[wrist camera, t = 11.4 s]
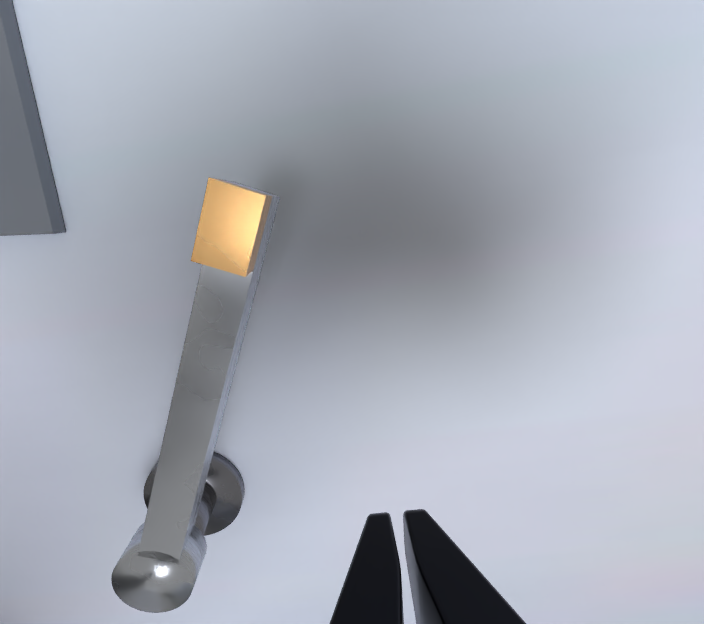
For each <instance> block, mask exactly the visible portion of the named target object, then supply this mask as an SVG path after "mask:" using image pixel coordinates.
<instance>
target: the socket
mask: <svg viewBox="0 0 704 624" xmlns="http://www.w3.org/2000/svg"><path fill="white" fill-rule="evenodd" d="M62 232H66V231H65V226H64V222H63V218H62V214H61V209H60V205H59V201H58V196H57V192H56V188H55V184H54V179H53V175H52V171H51V166H50V162H49V158H48V154H47V149H46V145H45V141H44V136H43V132H42V128H41V124H40V119H39V115H38V111H37V106H36V102H35V98H34V94H33V89H32V85H31V81H30V76H29V72H28V68H27V64H26V59H25V55H24V51H23V46H22V42H21V38H20V34H19V29H18V25H17V21H16V16H15V12H14V8H13V4H12V0H0V236H8V235H31V234H54V233H62Z"/></svg>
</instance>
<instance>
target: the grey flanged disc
mask: <svg viewBox="0 0 704 624" xmlns="http://www.w3.org/2000/svg"><path fill="white" fill-rule="evenodd" d="M157 465H158V463H157V464H156V466H155V467H154V469H153V470H152V472H151V473H150V475H149V476H148V478H147V480H146V483H145V486H144V500H145V504H146V506H147V509H148V506H149V501H150V497H151V492H152V488H153V483H154V479H155V474H156V470H157ZM243 498H244V484H243V480H242V477H241V475H240V473H239V472H238V470H237V469H236V468H235V466H234V465H233V464H232V463H231V462H230V461H228V460H227V459H226V458H224V457H223V456H221V455H219V454H217V453H214V452H213V456H212V460H211V463H210V467H209V471H208V475H207V479H206V483H205V486H204V490H203V494H202V498H201V502H200V506H199V509H198V513H197V517H196V521H195V526H196V527H197V528H198V529H199V530H200V531H201V532H202V534H203V535H210V534H213V533H216V532H219V531H221V530H222V529H224V528H226V527H227V526H228V525H230V524H231V523H232V522H233V521H234V519H235V518H236V517H237V515H238V513H239V511H240V508H241V505H242V501H243Z"/></svg>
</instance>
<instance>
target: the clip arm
mask: <svg viewBox="0 0 704 624" xmlns="http://www.w3.org/2000/svg"><path fill="white" fill-rule="evenodd" d="M279 199H280V197H279V196H276V195H273V194H270V193H267V192H264V191H261V190H258V189H255V188H252V187H249V186H246V185H242V184H239V183H236V182H232V181H226V180H220V179H215V178H208V183H207V188H206V192H205V197H204V202H203V206H202V211H201V216H200V220H199V225H198V230H197V234H196V239H195V244H194V248H193V253H192V258H191V261H193V262H196V263H199V264H202V267H201V271H200V276H199V280H198V285H197V289H196V294H195V298H194V303H193V307H192V312H191V316H190V321H189V325H188V330H187V334H186V339H185V343H184V348H183V352H182V357H181V361H180V366H179V370H178V375H177V379H176V384H175V388H174V393H173V397H172V402H171V407H170V411H169V416H168V420H167V425H166V429H165V434H164V438H163V443H162V447H161V452H160V456H159V461H158V465H157V470H156V474H155V479H154V483H153V488H152V492H151V497H150V501H149V506H148V510H147V515H146V519H145V523H143V524H142V525H141V526H140V527H139V528H138V530H137V531H136V533H135V534H134V536H133V538H132V539H131V541H130V543H129V544H128V546H127V548H126V549H125V551H124V553H123V555H122V556H121V558H120V560H119V561H118V563H117V565H116V566H115V568H114V570H113V573H112V586H113V589H114V591H115V593H116V594H117V596H118V597H119V598H120V599H121V600H122V601H123V602H124V603H126V604H127V605H129V606H131V607H133V608H135V609H138V610H140V611H145V612H152V613H159V612H166V611H170V610H173V609H175V608H177V607H179V606H181V605H182V604H183V603H184V602H186V601H187V599H188V598H189V596H190V595H191V592H192V589H193V587H194V584H195V581H196V578H197V576H198V573H199V570H200V567H201V565H202V562H203V559H204V557H205V554H206V549H207V545H206V540H205V537H204V535H203V534H202V532H201V531H200V530H199V529H198V528H197V527H196V526H195V521H196V517H197V513H198V509H199V506H200V502H201V498H202V494H203V490H204V486H205V483H206V479H207V475H208V471H209V467H210V463H211V460H212V456H213V452H214V448H215V444H216V440H217V437H218V433H219V429H220V425H221V421H222V417H223V414H224V410H225V406H226V402H227V398H228V395H229V391H230V387H231V383H232V379H233V375H234V372H235V368H236V364H237V360H238V356H239V352H240V349H241V345H242V341H243V337H244V333H245V329H246V326H247V322H248V318H249V314H250V310H251V306H252V303H253V299H254V295H255V291H256V287H257V283H258V280H259V276H260V272H261V268H262V264H263V260H264V257H265V253H266V249H267V245H268V241H269V237H270V234H271V230H272V226H273V222H274V218H275V214H276V211H277V207H278V203H279Z"/></svg>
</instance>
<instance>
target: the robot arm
mask: <svg viewBox="0 0 704 624" xmlns="http://www.w3.org/2000/svg"><path fill="white" fill-rule="evenodd" d="M403 523H404V544H405V554H406V561H407V567H408V574H409V580H410V586H411V592H412V599H413V605H414V611H415V617H416V624H526V623H525V622H524V621H523V619H522V618H521V617H520V616H519V615H518V614H517V613H516V612H515V610H514V609H513V608H512V607H511V606H510V605H509V604H508V603H507V601H506V600H505V599H504V598H503V597H502V596H501V595H500V594H499V592H498V591H497V590H496V589H495V588H494V587H493V586H492V585H491V583H490V582H489V581H488V580H487V579H486V578H485V577H484V576H483V575H482V573H481V572H480V571H479V570H478V569H477V568H476V567H475V566H474V564H473V563H472V562H471V561H470V560H469V559H468V558H467V557H466V555H465V554H464V553H463V552H462V551H461V550H460V549H459V548H458V546H457V545H456V544H455V543H454V542H453V541H452V540H451V539H450V537H449V536H448V535H447V534H446V533H445V532H444V531H443V530H442V528H441V527H440V526H439V525H438V524H437V523H436V522H435V521H434V519H433V518H432V517H431V516H430V515H429V514H428V513H427V512H426V511H425V510H423V509H418V510H407V511H405V512H404V514H403ZM330 624H404V620H403V601H402V582H401V568H400V561H399V556H398V551H397V546H396V541H395V536H394V531H393V526H392V522H391V517H390V515H389V513H386V512H385V513H375V514H370V515H369V516H368V517H367V520H366V523H365V526H364V528H363V531H362V534H361V537H360V540H359V543H358V545H357V548H356V551H355V554H354V557H353V559H352V562H351V565H350V568H349V571H348V573H347V576H346V579H345V582H344V585H343V588H342V590H341V593H340V596H339V599H338V602H337V604H336V607H335V610H334V613H333V616H332V619H331V621H330Z"/></svg>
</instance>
